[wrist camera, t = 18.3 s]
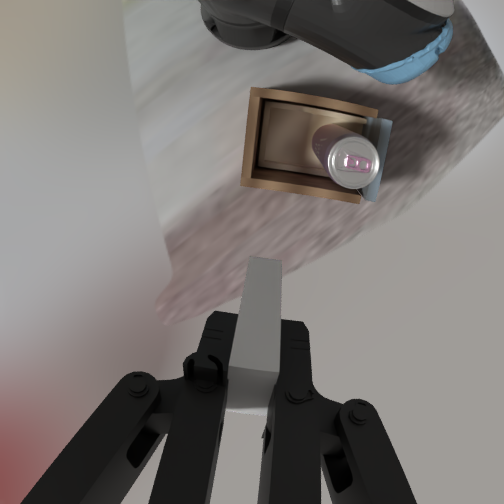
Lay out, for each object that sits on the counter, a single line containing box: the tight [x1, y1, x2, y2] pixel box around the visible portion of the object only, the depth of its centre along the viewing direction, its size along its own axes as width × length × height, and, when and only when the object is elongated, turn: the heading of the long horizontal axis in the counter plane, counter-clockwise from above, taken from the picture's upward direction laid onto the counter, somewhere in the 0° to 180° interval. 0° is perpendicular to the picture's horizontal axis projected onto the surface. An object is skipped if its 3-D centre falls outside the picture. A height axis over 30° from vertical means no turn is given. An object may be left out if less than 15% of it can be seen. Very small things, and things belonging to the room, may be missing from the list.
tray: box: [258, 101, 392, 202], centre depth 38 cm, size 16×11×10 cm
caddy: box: [240, 87, 378, 204], centre depth 39 cm, size 16×13×9 cm
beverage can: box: [312, 124, 380, 189], centre depth 35 cm, size 6×6×15 cm
